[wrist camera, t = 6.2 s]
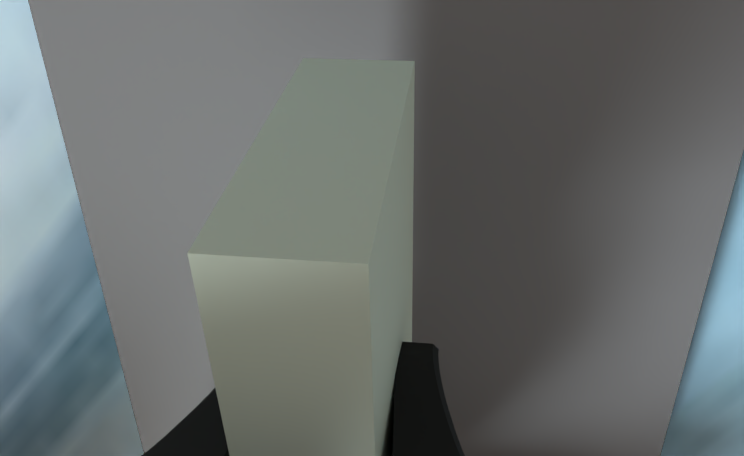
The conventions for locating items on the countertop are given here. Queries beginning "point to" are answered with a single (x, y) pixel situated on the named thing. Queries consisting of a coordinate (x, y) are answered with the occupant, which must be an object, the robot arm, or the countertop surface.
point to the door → (314, 266)
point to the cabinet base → (433, 188)
